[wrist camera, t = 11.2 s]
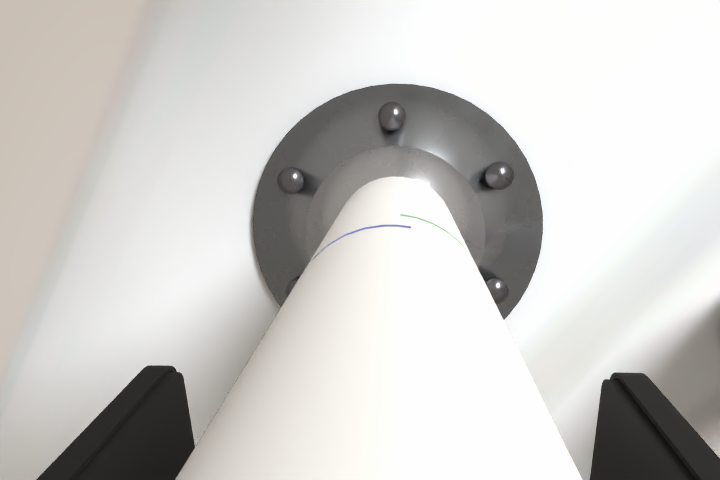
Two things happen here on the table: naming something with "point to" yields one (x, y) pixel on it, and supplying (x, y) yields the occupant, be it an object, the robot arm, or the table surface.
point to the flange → (401, 159)
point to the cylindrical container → (385, 365)
